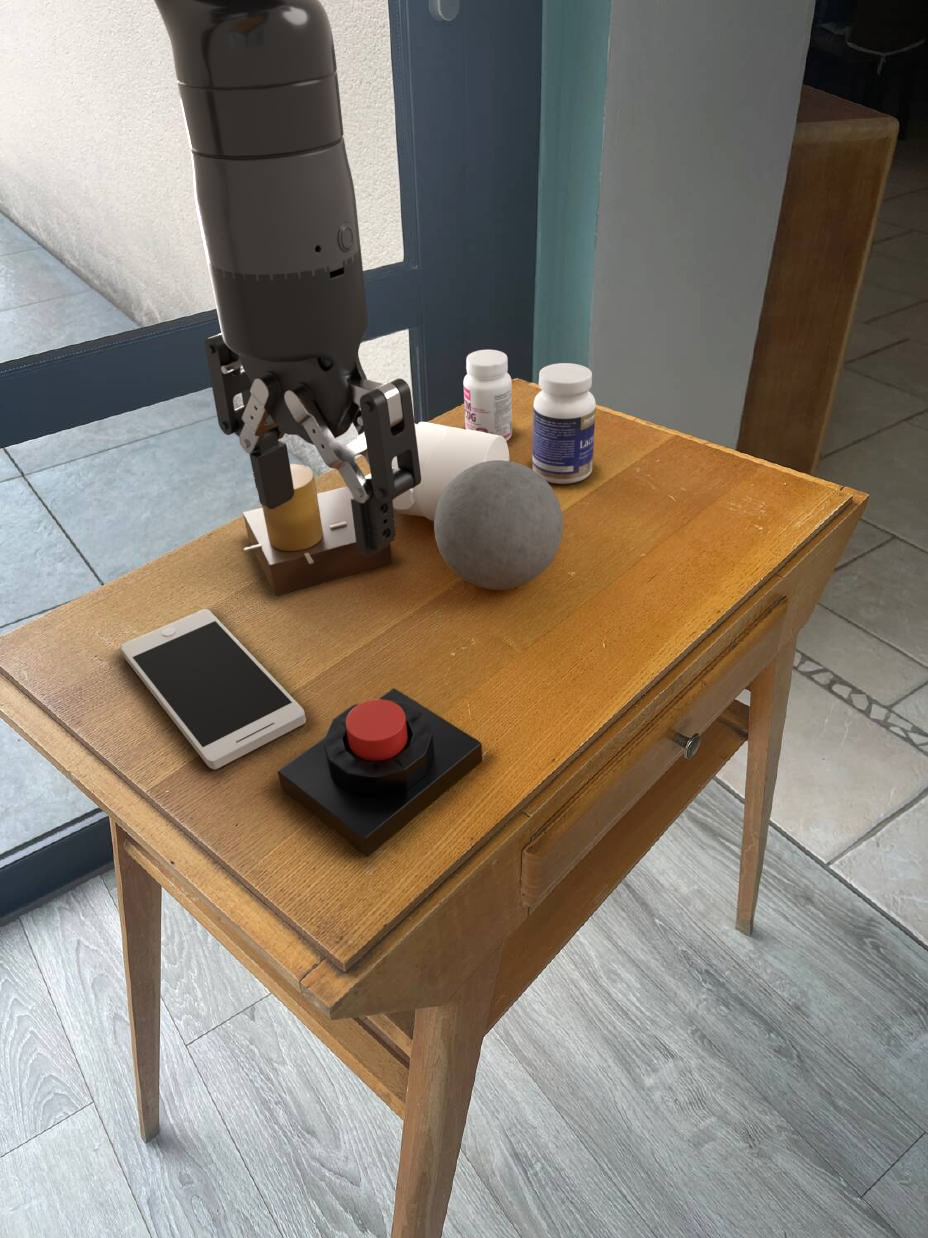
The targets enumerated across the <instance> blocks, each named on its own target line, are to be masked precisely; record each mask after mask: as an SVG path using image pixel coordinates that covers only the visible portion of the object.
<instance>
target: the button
mask: <svg viewBox="0 0 928 1238" xmlns="http://www.w3.org/2000/svg"><path fill="white" fill-rule="evenodd" d="M358 704H359V705H357V706H356V707H354V708H353V709H352V710H351V711H350V712H349V714H348V716H347V718H346V729H347V735H348V741H349V746H350V749H351V750H352V752H353V753H354V754H355V755H356V756H358V757H359V758H362V759H365V760H369V761H381V760H386V759H389V758H392V757H394V756H395V755H397V754H398V753H400V752H401V751H402V750H403V748H404V747H405V745H406V743H407V738H408V737H407V727H406V717H405V713H404V711H403V709H402V708H401V707H400V706H399V705H397V704H396V703H394V702H392V701H388V700H382V699H379V698H377V699H370V700H366V701H362V702H361V704H360V703H358Z"/></svg>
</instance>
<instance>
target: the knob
mask: <svg viewBox="0 0 928 1238" xmlns="http://www.w3.org/2000/svg"><path fill="white" fill-rule="evenodd" d="M290 468H291V474H292V480H293V486H294V496H293V497H292V499H291V500H289V501H287V502H286V503H284V504H282V505H280V506H278V507H276V508H274V509H269V508H267V507H265V506H263V505H261V508H263V513H264V518H265V523H266V528H267V533H268V538H269V542H270V544H271V545H272V546H273V547H275V548H276V549H279V550H283V551H299V550H303V549H307V548H309V547H312V546H313V545H315V544H317V543H318V542H319V541H320V540H321V538H322V536H323V529H322V523H321V516H320V510H319V504H318V497H317V494H318V491H317V486H316V485H317V484H316V479H315V473H314V471H313V470H312V469H311V468H310V467H309V466H306V465H303V464H298V463H290Z"/></svg>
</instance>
